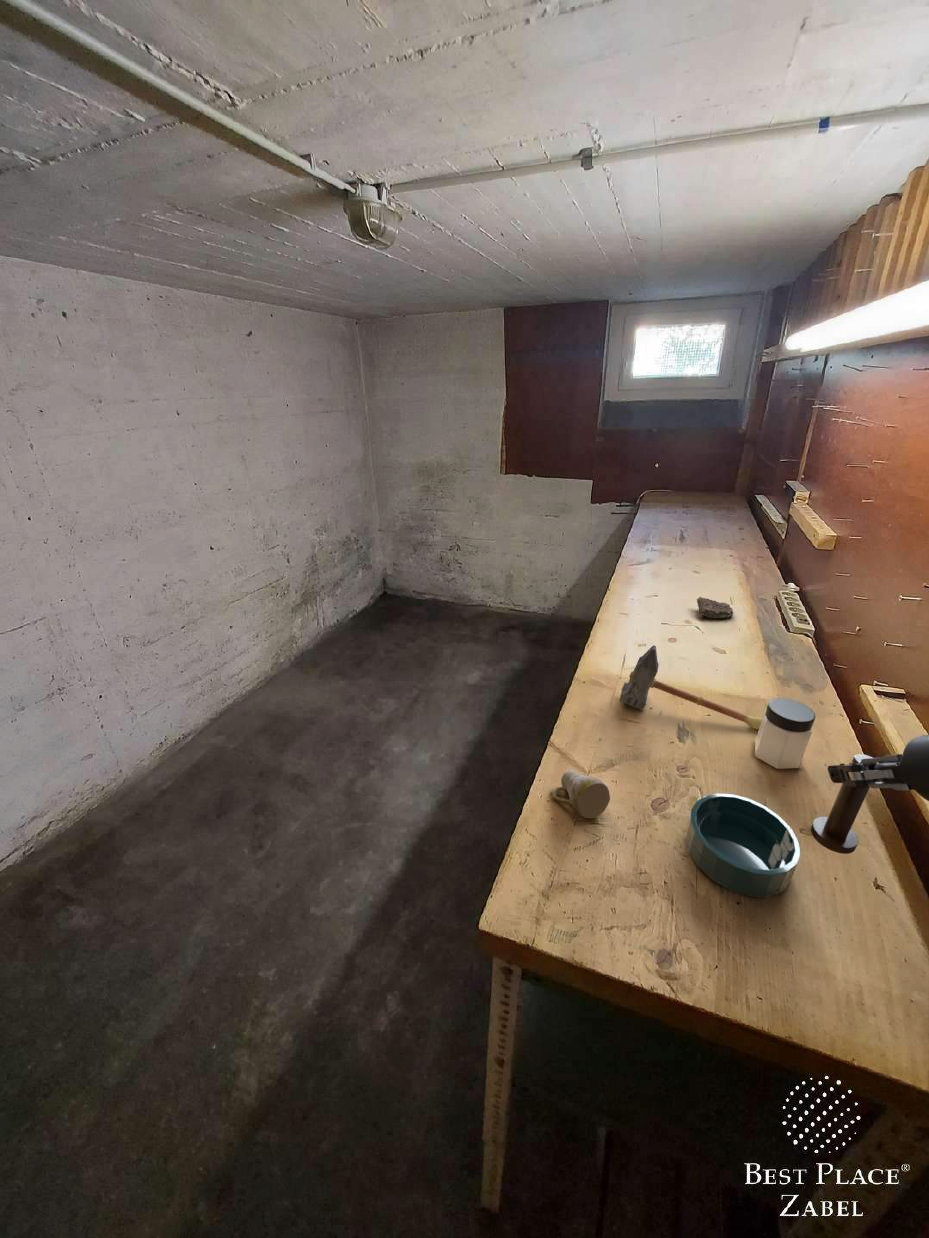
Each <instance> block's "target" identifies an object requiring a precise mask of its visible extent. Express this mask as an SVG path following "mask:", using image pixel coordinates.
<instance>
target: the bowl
mask: <svg viewBox="0 0 929 1238" xmlns="http://www.w3.org/2000/svg"><path fill="white" fill-rule="evenodd" d="M684 841H685V845H686V848H687V851H688V855H689V856H690V857H691V859H692V861H693V862H694V864H696V867H698V868H699V869H700V870H701V871H702V872H703V873H704V874H705V875H706V876H707V877H708V878H709V879H711V880H712V881H714V882H715V883H717V884H718V885H721V886H722V887H724V888H725V889H727V890H729V891H732V892H734V893H738V894H741V895H743V896H747V897H755V898H767V897H772V896H778V895H779V894H781V893H782V892H783V891H785V890H786V889H787V888H788V887H789V885H790V883H791V880H792V878H793V875H794V873H795V871H796V868H797V865H798V863H799V861H800V858H801V855H802V852H801V846H800V841H799V839H798V838H797V836H796V834H795V832H794V830H793V828H792V827H791V826H789V825H788V823H787V822H786V821H785V820H784V819H783V818H782V817H781V816H780V815H779V814H777V813H776V812H774V811H773V810H772V809H770V808H769V807H767V806H766V805H764V804H762V803H759V802H758V801H756V800H753V799H751V798H748V797H745V796H740V795H738V794H733V793H722V792H721V793H720V792H718V793H712V794H707V795H705V796H703V797H701V798H699V799H697V800H696V802H695V803H694V804H693V806H692V808H691V809H690V813H689V816H688V821H687V825H686V829H685V837H684Z"/></svg>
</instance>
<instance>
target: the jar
mask: <svg viewBox="0 0 929 1238" xmlns="http://www.w3.org/2000/svg"><path fill="white" fill-rule="evenodd" d="M761 719H762V722H761V725H760V728H759V730H758V732H757V736H756V737H755V742H754V756H755V757H756V758H758V759H759V760H761V761H762V762H764V763H766V764H768V765H770V766H771V767H772V768H775V769H776V770H780V769H781V770H783V769H799V768H800V766H801V763H802V760H803V758H804V756H805V753H806V749H807V747H808V744H809V741H810V739H811V736H812V733H813V730H812V728H813V726H814V722H815V720H816V712H815V711H814V710H813V709H812V708H811V707H809V706H808V705H806V704H805V703H803V702H801V701H798V700H795V699H791V698H786V697H775V698H772V699H770V700H769V701H768V703H767V706H766V708H765V709H764V713H763V716H762V718H761Z"/></svg>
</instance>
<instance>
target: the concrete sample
mask: <svg viewBox="0 0 929 1238" xmlns="http://www.w3.org/2000/svg"><path fill="white" fill-rule="evenodd" d="M696 603H697V607H698V610H697V611H698V614H699V615H700V616H705V617H706V618H708V619H724V618H727V619H728V618H730V617H734V610H733V608H732V607H730V606H731V605H730V604H729V603H727V602H719V601H717V600H713V599H709V598H707V597H706V598H705V597H702V596H699V597H698V598H697V599H696Z"/></svg>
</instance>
